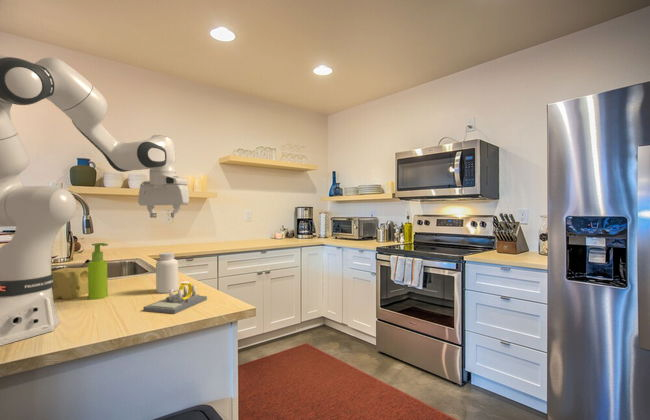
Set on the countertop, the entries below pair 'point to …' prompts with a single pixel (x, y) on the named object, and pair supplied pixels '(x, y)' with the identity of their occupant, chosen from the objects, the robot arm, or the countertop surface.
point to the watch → (188, 288)
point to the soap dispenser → (97, 274)
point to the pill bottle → (166, 273)
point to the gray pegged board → (176, 302)
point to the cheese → (70, 282)
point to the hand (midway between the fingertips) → (163, 217)
